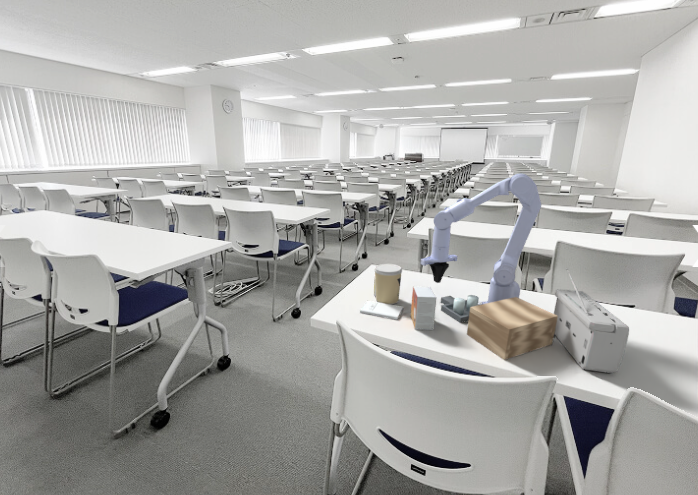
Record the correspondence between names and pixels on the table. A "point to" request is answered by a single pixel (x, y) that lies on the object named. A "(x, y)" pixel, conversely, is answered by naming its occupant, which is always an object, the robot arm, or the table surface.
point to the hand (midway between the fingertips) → (437, 281)
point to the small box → (423, 307)
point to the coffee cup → (387, 283)
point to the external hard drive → (382, 310)
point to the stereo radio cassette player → (589, 331)
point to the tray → (450, 309)
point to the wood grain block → (511, 327)
